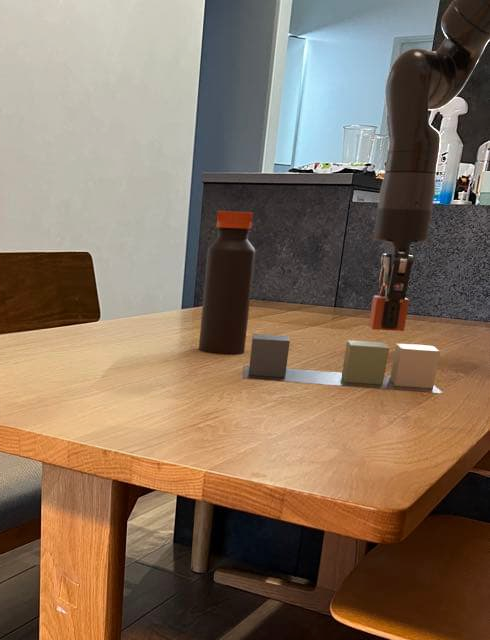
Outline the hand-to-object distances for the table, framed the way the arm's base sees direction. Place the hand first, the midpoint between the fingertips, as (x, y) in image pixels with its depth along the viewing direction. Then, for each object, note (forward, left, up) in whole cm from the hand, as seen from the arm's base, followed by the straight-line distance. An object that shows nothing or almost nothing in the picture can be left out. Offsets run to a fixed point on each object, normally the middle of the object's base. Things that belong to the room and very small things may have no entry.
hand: (386, 325), depth 131 cm
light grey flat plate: (+9, +26, -5) cm, 28 cm away
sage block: (+6, +26, -4) cm, 27 cm away
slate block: (+18, +26, -4) cm, 32 cm away
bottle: (+24, +9, -5) cm, 26 cm away
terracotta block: (0, 0, 0) cm, 0 cm away
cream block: (0, +26, -4) cm, 26 cm away
